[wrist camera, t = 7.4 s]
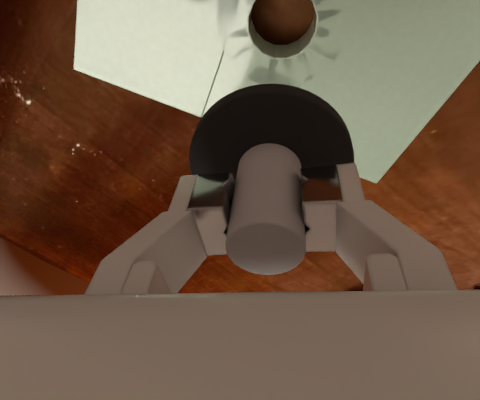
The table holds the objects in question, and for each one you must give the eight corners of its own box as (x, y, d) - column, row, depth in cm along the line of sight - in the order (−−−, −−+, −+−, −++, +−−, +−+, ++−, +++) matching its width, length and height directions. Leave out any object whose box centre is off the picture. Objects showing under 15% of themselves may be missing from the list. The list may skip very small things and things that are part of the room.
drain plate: (87, 56, 26) (73, 69, 25) (114, -277, 16) (92, -297, 14) (371, 165, 31) (376, 184, 29) (537, -45, 20) (563, -38, 18)
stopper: (187, 156, 15) (143, 277, 10) (229, 30, 11) (192, 128, 7) (302, 197, 15) (309, 326, 11) (374, 92, 12) (425, 215, 8)
